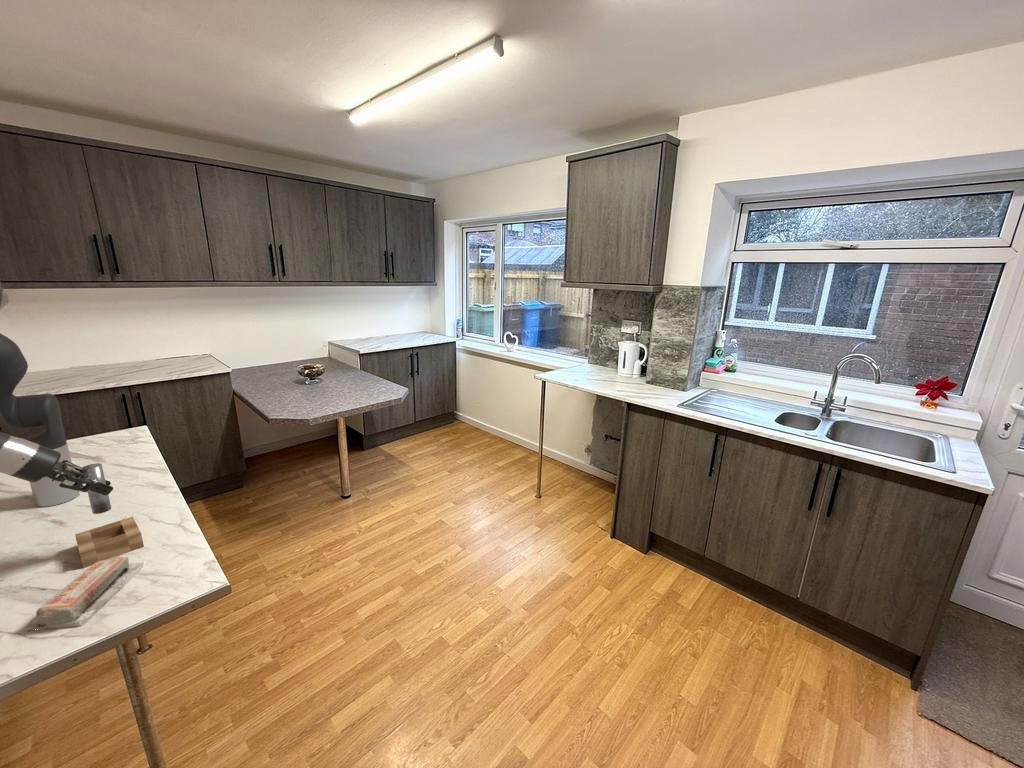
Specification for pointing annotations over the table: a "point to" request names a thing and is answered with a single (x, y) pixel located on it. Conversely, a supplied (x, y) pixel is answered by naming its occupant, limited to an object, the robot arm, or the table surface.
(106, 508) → the steel rod
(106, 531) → the wooden frame
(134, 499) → the table surface
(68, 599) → the packaged product
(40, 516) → the table surface
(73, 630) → the table surface
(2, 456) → the robot arm
